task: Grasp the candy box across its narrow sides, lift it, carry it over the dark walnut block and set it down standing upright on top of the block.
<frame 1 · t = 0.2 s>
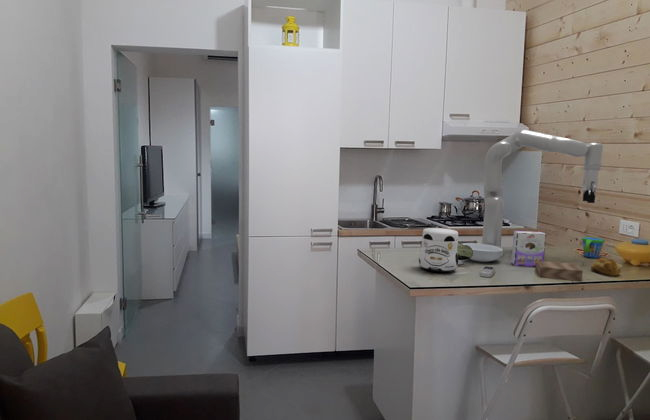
hand: (588, 202, 256), 31 cm above the counter, tool pointing down, fingers open, 9 cm apart
candy box: (526, 265, 248), on the counter
bread roll: (605, 274, 238), on the counter
snack cup: (591, 257, 276), on the counter
canned tomato: (519, 253, 280), on the counter
serving bowl: (479, 260, 256), on the counter
walnut block: (557, 276, 229), on the counter
milk container: (437, 270, 230), on the counter
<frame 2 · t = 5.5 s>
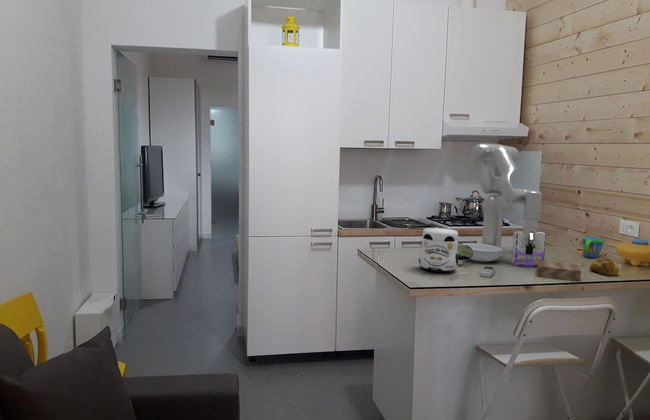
hand: (528, 252, 248), 6 cm above the counter, tool pointing down, fingers closed on candy box, 6 cm apart
candy box: (526, 265, 248), on the counter, touching gripper
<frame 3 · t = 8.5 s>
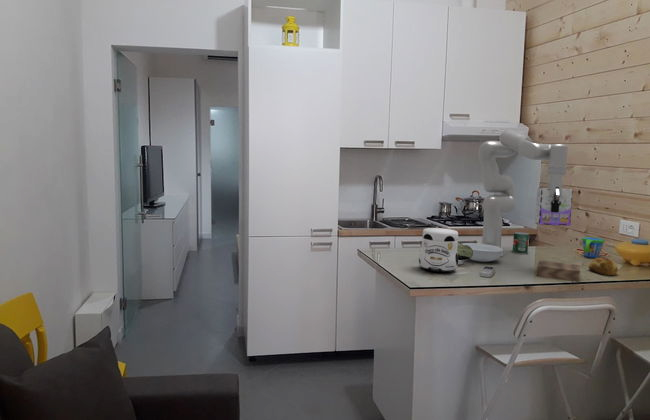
hand: (553, 211, 232), 28 cm above the counter, tool pointing down, fingers closed on candy box, 6 cm apart
candy box: (552, 225, 233), point 22 cm above the counter, touching gripper
when the fingers open (12 cm above the counter, at t = 11.6 s): candy box drops 2 cm, resting on walnut block.
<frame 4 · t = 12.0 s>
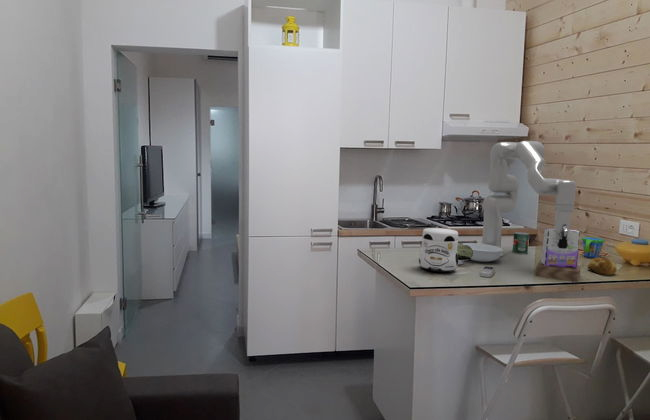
hand: (560, 246, 228), 13 cm above the counter, tool pointing down, fingers open, 9 cm apart
candy box: (558, 266, 229), point 4 cm above the counter, touching walnut block
walnut block: (557, 276, 229), on the counter, touching candy box
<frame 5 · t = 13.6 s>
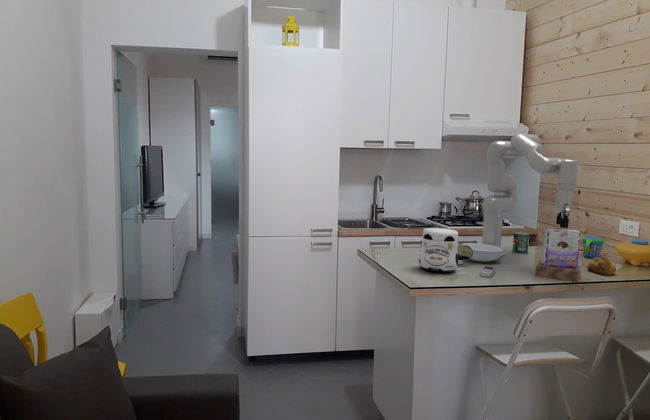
hand: (561, 225, 227), 22 cm above the counter, tool pointing down, fingers open, 9 cm apart
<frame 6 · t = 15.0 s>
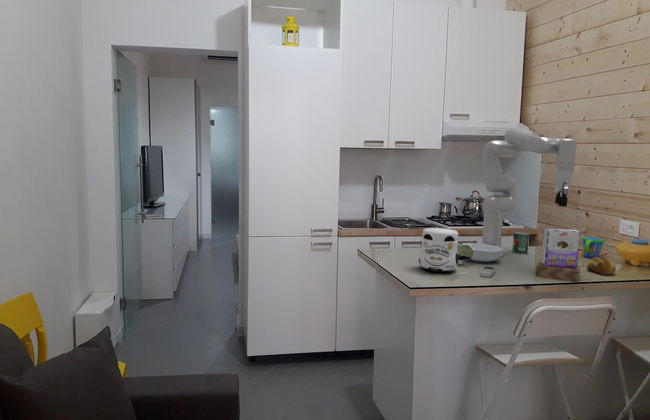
hand: (560, 205, 229), 31 cm above the counter, tool pointing down, fingers open, 9 cm apart
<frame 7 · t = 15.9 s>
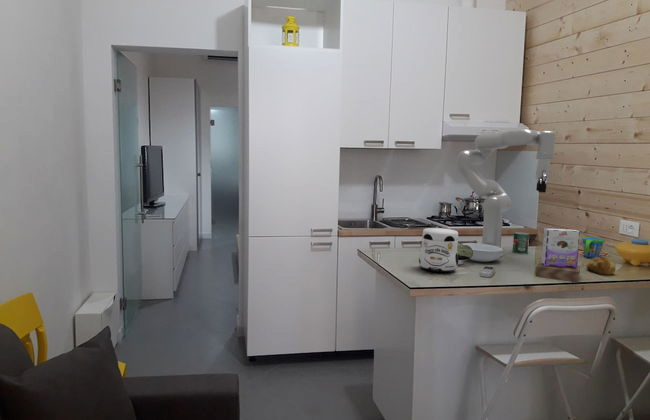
hand: (540, 191, 251), 36 cm above the counter, tool pointing down, fingers open, 9 cm apart
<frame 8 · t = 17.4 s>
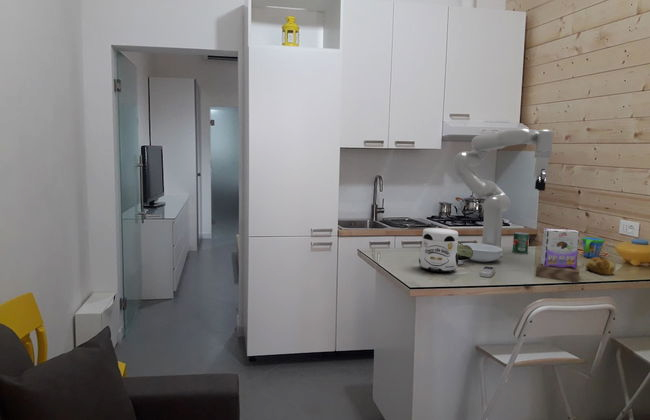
hand: (539, 189, 253), 36 cm above the counter, tool pointing down, fingers open, 9 cm apart
candy box: (557, 266, 228), point 4 cm above the counter
walnut block: (557, 277, 229), on the counter
at the end: candy box inside the target area on the walnut block (0.4 cm from its centre), point 4.8 cm above the walnut block's base; candy box tilted 0°; the gripper is holding nothing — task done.
